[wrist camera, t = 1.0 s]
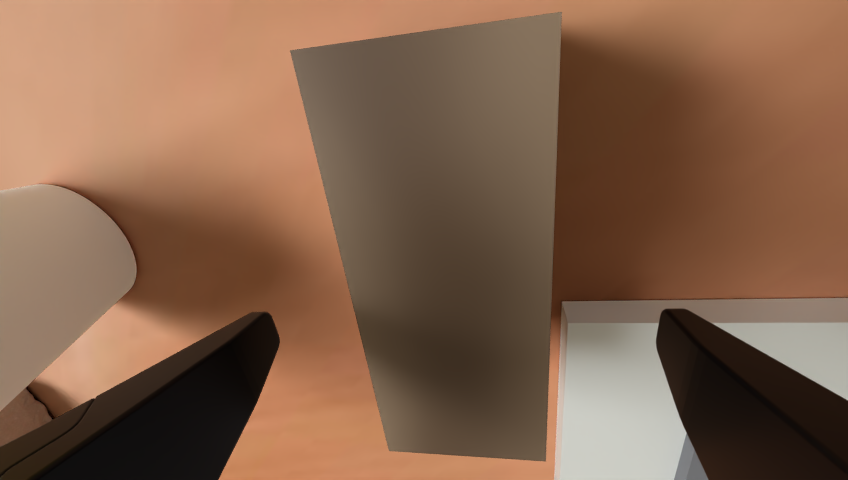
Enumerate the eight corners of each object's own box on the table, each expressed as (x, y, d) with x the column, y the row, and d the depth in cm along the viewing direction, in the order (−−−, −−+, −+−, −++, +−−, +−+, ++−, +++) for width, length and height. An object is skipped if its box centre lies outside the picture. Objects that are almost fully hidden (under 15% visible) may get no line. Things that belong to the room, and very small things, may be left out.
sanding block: (525, 26, 13) (561, 12, 6) (526, 317, 18) (545, 461, 12) (380, 46, 14) (290, 51, 7) (421, 317, 19) (389, 450, 13)
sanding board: (888, 297, 15) (927, 322, 13) (772, 528, 22) (790, 559, 20) (561, 301, 17) (568, 323, 16) (553, 509, 24) (556, 536, 23)
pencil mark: (727, 397, 16) (738, 413, 16) (692, 507, 20) (700, 524, 19) (696, 396, 16) (705, 412, 16) (667, 505, 20) (673, 521, 19)
